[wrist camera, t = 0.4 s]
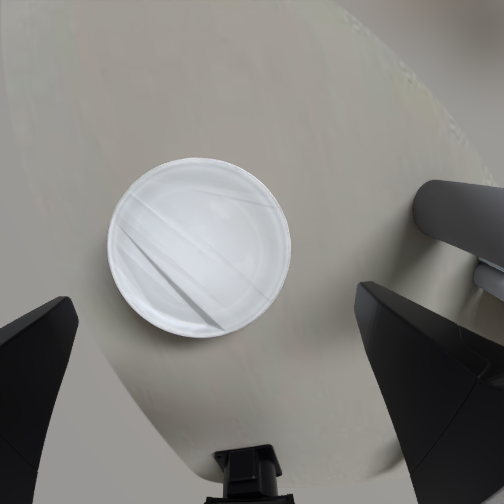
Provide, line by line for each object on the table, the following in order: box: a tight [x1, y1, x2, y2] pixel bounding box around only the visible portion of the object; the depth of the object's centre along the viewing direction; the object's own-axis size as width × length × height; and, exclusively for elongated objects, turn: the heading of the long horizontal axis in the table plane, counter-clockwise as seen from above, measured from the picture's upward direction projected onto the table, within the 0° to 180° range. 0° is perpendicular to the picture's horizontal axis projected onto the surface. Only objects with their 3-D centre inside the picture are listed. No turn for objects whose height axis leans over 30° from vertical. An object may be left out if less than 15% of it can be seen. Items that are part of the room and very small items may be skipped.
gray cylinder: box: [413, 180, 504, 268], centre depth 17 cm, size 5×5×12 cm
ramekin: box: [107, 158, 291, 338], centre depth 20 cm, size 11×11×5 cm
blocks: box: [473, 257, 504, 301], centre depth 24 cm, size 28×2×6 cm, turn 176°
